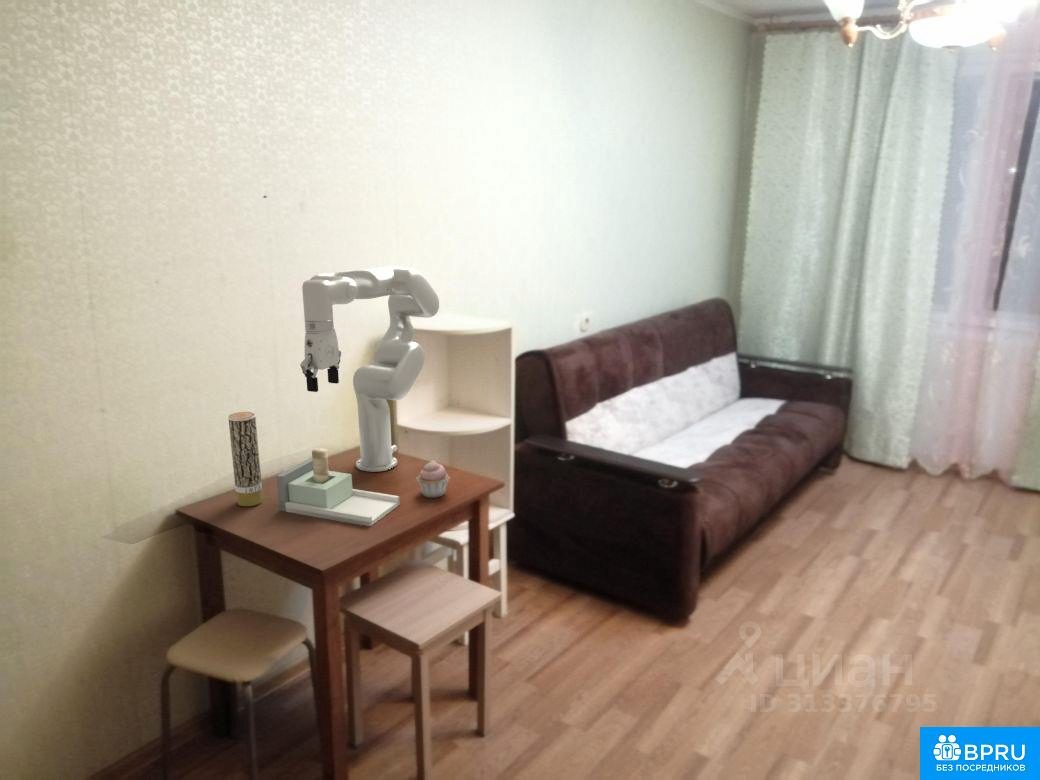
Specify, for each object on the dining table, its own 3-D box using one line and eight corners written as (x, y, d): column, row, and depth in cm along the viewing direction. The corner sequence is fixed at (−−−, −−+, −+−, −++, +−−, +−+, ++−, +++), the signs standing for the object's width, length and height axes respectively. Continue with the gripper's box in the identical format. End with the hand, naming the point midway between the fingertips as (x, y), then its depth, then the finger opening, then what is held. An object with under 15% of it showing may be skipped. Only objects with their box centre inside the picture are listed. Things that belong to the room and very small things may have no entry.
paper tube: (231, 504, 214) (222, 417, 207) (249, 496, 219) (241, 410, 213) (250, 509, 211) (241, 420, 204) (268, 500, 217) (260, 413, 210)
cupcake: (450, 486, 226) (449, 454, 224) (450, 499, 217) (449, 465, 215) (417, 487, 226) (416, 455, 223) (416, 500, 217) (414, 466, 214)
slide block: (316, 488, 221) (314, 468, 219) (352, 494, 217) (351, 474, 215) (289, 504, 210) (287, 483, 209) (327, 511, 206) (325, 489, 204)
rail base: (313, 490, 223) (310, 457, 221) (399, 504, 214) (398, 470, 211) (279, 510, 210) (276, 475, 207) (370, 526, 200) (368, 490, 198)
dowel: (321, 488, 215) (318, 447, 212) (332, 491, 214) (330, 449, 210) (311, 493, 212) (308, 452, 209) (323, 496, 210) (320, 454, 207)
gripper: (311, 332, 203) (316, 396, 207) (349, 321, 219) (352, 381, 223) (287, 330, 206) (292, 393, 210) (326, 319, 221) (330, 378, 226)
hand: (323, 387), depth 216 cm, fingers open, 9 cm apart
